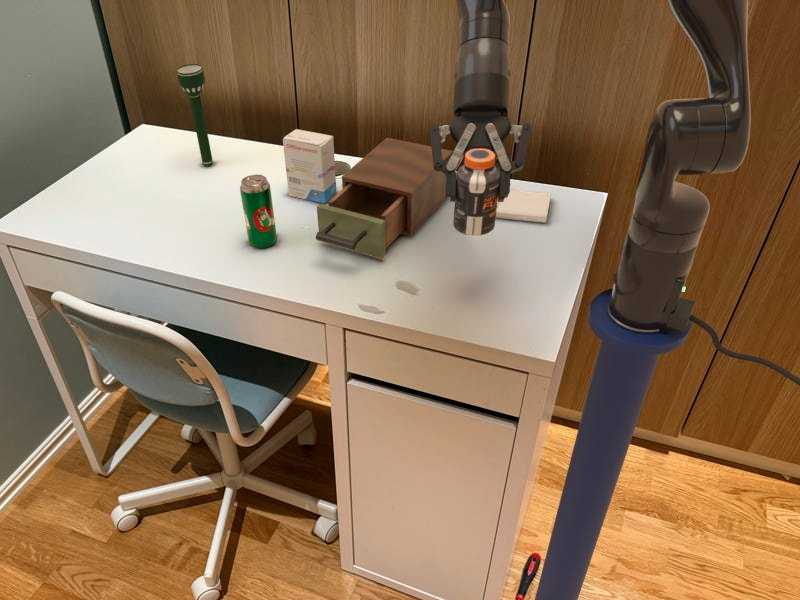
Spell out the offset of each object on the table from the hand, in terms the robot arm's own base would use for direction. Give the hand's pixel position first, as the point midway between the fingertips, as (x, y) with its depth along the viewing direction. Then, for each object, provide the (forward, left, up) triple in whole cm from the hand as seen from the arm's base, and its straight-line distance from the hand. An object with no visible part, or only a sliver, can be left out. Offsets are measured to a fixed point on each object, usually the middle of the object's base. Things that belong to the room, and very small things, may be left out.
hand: (476, 200), depth 99 cm
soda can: (+39, +1, -17) cm, 42 cm away
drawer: (+23, -8, -16) cm, 29 cm away
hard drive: (+4, -28, -17) cm, 33 cm away
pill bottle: (+1, -2, -5) cm, 6 cm away
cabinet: (+23, -20, -17) cm, 35 cm away
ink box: (+40, -17, -17) cm, 46 cm away
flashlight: (+67, -18, -17) cm, 71 cm away
